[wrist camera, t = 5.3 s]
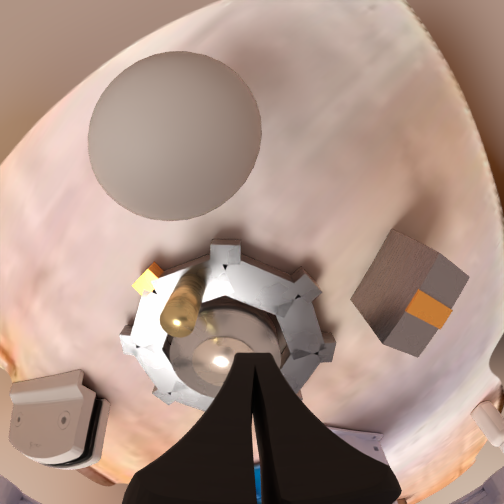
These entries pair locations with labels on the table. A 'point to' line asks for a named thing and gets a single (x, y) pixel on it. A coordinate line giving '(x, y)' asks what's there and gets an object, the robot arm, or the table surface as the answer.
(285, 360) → the sprocket
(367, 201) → the table surface
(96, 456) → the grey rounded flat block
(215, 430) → the robot arm
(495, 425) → the eye dropper bottle
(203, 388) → the hub
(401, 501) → the open wooden box
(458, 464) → the table surface
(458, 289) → the marked link
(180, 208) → the lightbulb
